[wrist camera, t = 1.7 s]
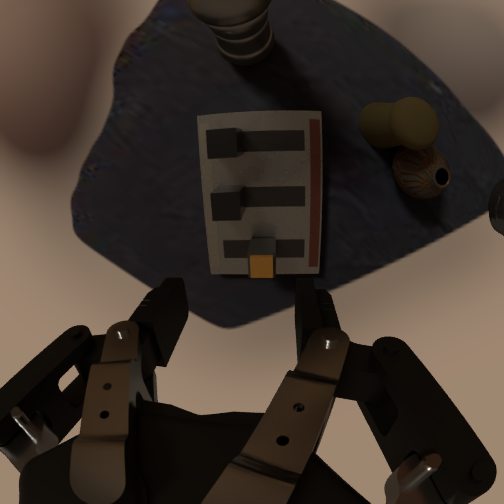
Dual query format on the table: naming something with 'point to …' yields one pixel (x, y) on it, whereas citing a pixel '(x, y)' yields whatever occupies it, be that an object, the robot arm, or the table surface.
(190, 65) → the table surface
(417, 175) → the vase
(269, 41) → the plastic bottle
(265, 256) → the breaker handle
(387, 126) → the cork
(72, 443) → the robot arm
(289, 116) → the breaker panel
